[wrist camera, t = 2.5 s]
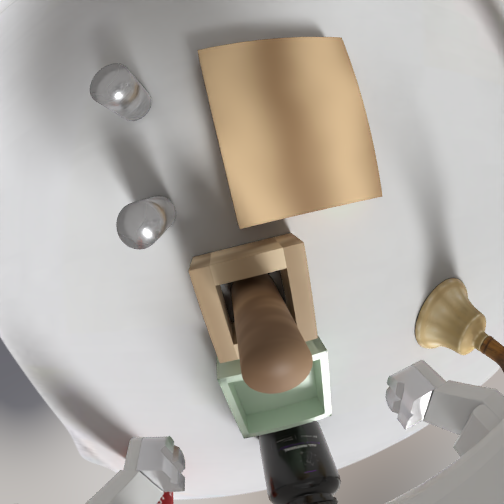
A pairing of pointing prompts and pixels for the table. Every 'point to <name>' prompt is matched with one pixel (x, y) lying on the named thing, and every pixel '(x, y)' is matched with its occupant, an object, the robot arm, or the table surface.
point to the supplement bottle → (299, 466)
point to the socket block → (245, 266)
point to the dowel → (268, 337)
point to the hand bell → (455, 323)
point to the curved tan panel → (289, 126)
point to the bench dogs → (132, 108)
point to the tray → (277, 397)
